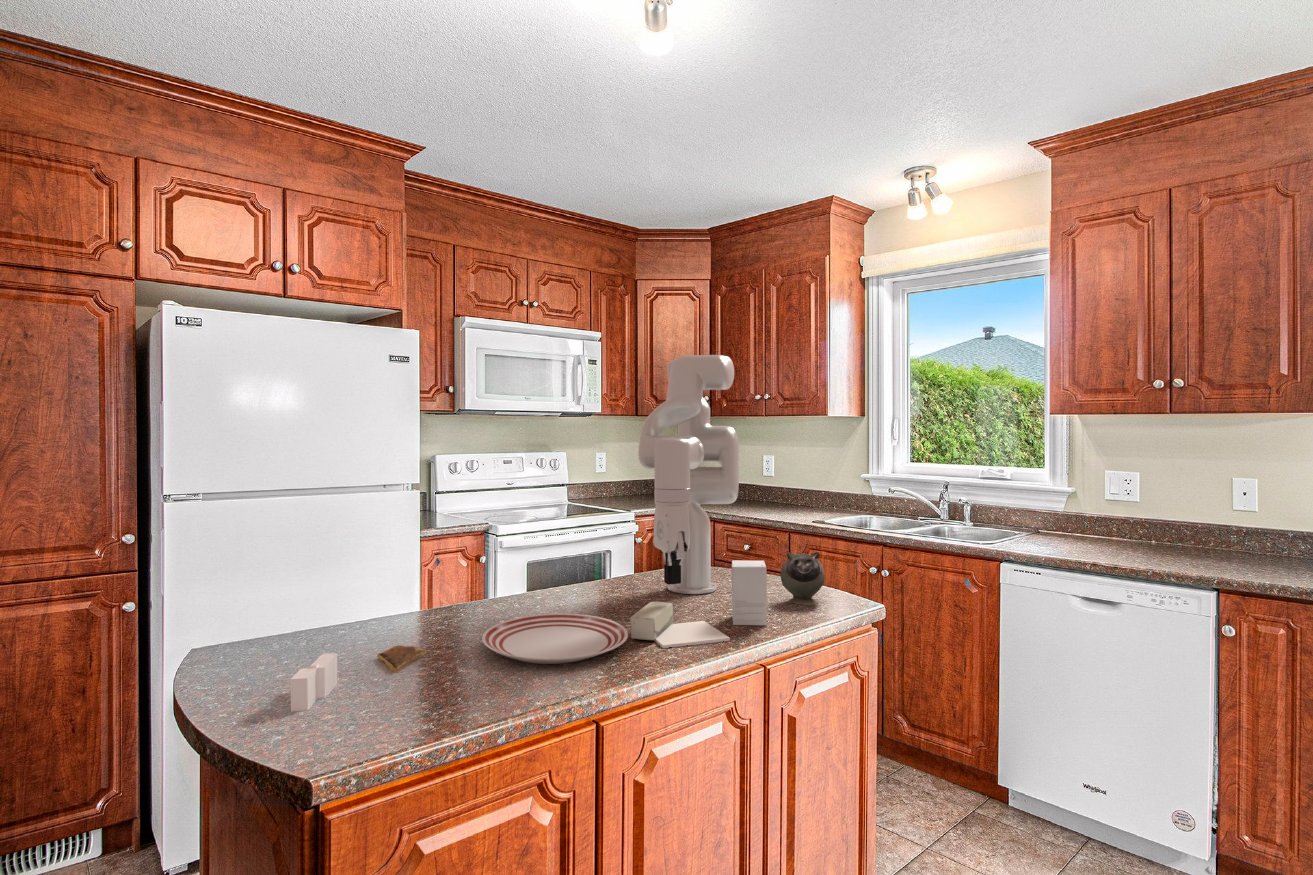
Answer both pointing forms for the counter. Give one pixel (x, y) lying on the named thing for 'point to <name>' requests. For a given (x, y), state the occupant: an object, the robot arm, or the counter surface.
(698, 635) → the beige flat slab
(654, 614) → the box
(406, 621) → the counter surface
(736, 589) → the supplement box
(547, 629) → the dinner plate
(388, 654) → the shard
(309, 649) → the counter surface
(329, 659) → the pink notched block
